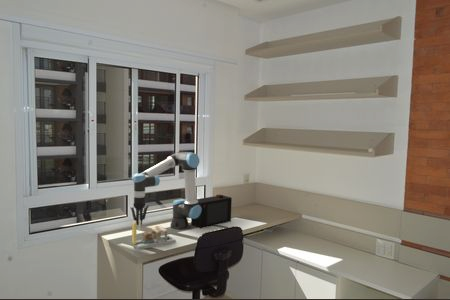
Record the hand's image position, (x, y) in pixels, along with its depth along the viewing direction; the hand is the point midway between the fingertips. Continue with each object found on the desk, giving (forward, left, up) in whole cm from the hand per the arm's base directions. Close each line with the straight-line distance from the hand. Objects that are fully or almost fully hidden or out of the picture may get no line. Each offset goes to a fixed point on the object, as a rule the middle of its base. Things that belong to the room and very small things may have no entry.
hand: (139, 229), depth 240 cm
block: (-6, 0, -9) cm, 11 cm away
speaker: (-75, -23, -12) cm, 80 cm away
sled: (-3, 0, -10) cm, 10 cm away
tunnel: (-15, 0, -10) cm, 18 cm away
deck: (-11, 0, -12) cm, 17 cm away
